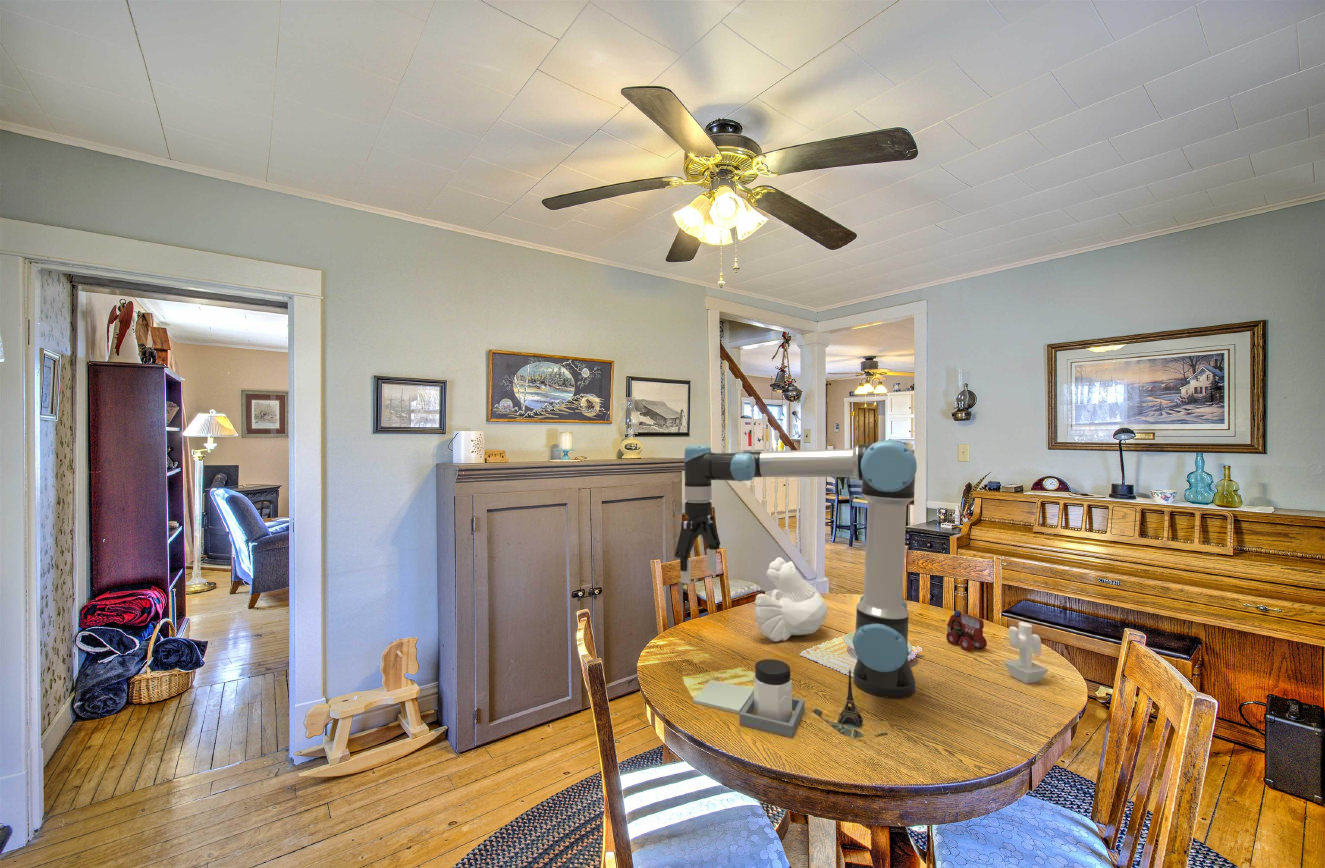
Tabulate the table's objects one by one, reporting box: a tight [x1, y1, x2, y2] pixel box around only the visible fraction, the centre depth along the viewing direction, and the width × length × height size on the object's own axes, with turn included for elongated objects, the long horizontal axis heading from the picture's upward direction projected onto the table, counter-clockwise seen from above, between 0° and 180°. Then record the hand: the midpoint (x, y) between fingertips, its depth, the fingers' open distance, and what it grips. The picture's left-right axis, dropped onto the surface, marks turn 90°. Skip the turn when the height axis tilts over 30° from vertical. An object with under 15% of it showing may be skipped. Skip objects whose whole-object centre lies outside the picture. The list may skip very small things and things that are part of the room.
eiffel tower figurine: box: [811, 669, 888, 739], centre depth 122 cm, size 15×10×13 cm
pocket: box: [738, 693, 806, 739], centre depth 124 cm, size 12×13×2 cm
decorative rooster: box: [754, 556, 828, 643], centre depth 176 cm, size 25×16×25 cm
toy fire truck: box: [946, 610, 988, 652], centre depth 165 cm, size 7×12×10 cm, turn 17°
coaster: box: [692, 679, 754, 714], centre depth 134 cm, size 12×12×1 cm
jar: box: [753, 658, 793, 723], centre depth 124 cm, size 9×8×12 cm
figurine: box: [1003, 621, 1050, 684], centre depth 143 cm, size 7×9×15 cm
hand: (699, 577), depth 148 cm, fingers open, 13 cm apart
